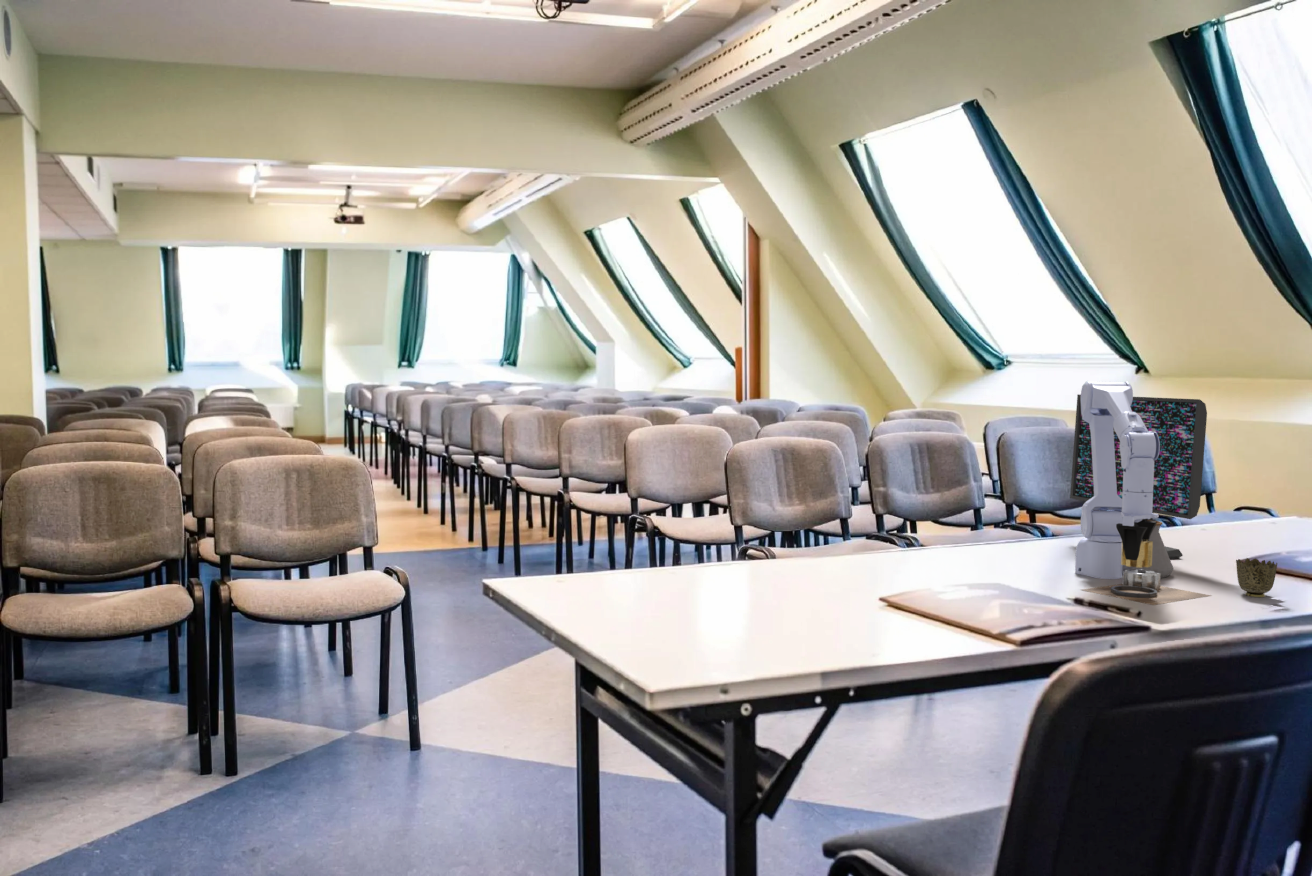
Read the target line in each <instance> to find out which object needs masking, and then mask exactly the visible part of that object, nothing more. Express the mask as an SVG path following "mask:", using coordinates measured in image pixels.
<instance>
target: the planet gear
mask: <svg viewBox="0 0 1312 876" xmlns="http://www.w3.org/2000/svg"><path fill="white" fill-rule="evenodd" d="M1152 547H1153V542H1152V541H1148V540H1144V539H1142V541H1141V546H1140V551H1139V556H1138V559H1137V560H1127V559H1126V558H1125V554H1124V548H1123V543H1122V548H1121V565H1126V566H1129V567H1139V568H1142V567H1151V566H1152Z"/></svg>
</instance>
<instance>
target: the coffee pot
mask: <svg viewBox="0 0 1312 876" xmlns="http://www.w3.org/2000/svg"><path fill="white" fill-rule="evenodd" d="M1099 511H1101V510H1099ZM1147 521H1154V519H1153V520H1147ZM1155 521H1156V526H1155V527H1154V529H1153V531H1152V533H1151V536H1150V539H1149V541H1152V542H1153V547H1152V566H1151V567H1142V568H1139V567H1129V566H1126V565H1122V574H1123V571H1125V570H1138V569H1145V570H1146V571H1154V572H1155V573H1160V574H1161V575H1160V579H1161V578H1163V579H1164V578H1167V577H1169V576H1170V575H1171V574H1172V572H1173V570H1174V567H1173V563H1172V560H1171V559H1170V558H1169V556H1168V553H1167V551H1166V548H1165V543H1164V541H1163V539H1162V536H1161V533H1160V528H1161V526H1162V525H1163V522H1162V521H1160V520H1159V521H1158V520H1155Z"/></svg>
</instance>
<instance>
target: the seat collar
mask: <svg viewBox="0 0 1312 876" xmlns="http://www.w3.org/2000/svg"><path fill="white" fill-rule="evenodd" d="M1118 590H1135V591H1143V592H1148V593H1129V592H1123V591H1118ZM1111 593H1113V594H1115V595H1120V596H1125V597H1134V598H1152V597H1156V596H1157V591H1156V590H1154V589H1151V588H1146V587H1139V586H1113V587H1112V588H1111Z"/></svg>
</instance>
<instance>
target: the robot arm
mask: <svg viewBox="0 0 1312 876" xmlns="http://www.w3.org/2000/svg"><path fill="white" fill-rule="evenodd" d="M1080 392H1081V393H1080V395H1081V414H1082V419H1083V420H1084V421H1086V422H1088V423H1089V425H1090V432H1091V446H1092V464H1093V483H1094V497H1092V498H1091V499H1089V500H1088V501H1085V502H1084V503H1083V505H1082V507H1081V515H1080V531H1081V534H1082V535H1083V538H1081V539H1080V540H1079V541H1078V542H1077V544H1076V548H1075V564H1074V565H1075V566H1074V567H1075V569H1074V573H1075V574H1077V575H1083V576H1087V577H1091V578H1094V579H1095V578H1096V579H1103V580H1119V579H1123V573H1122V565H1121V548H1122V543H1123V548H1124V554H1125V558H1126V559H1127V560H1137V559H1138V556H1139V551H1140V546H1141V541H1142V539H1144V540H1148V541H1149V539H1150V536H1151V533H1152V531H1153V529H1154V527H1155V526H1156V521H1157V520H1153V521H1147V519H1150V518H1153V519H1159V515H1160V514H1157V513H1152V507H1153V482H1154V460H1157V458H1158V456H1159V451H1160V442H1159V437H1158V435H1157V433H1156V432H1152V431H1148V430H1147V428H1146V426H1145V424H1144V423H1143V421H1142V419H1141V417H1140V416H1139V415H1138V414H1137V413H1136V412H1132V410H1131V407H1130V406H1131V404H1132V400H1133V397H1134V393H1133V392H1134V391H1133V387H1132V385H1131V383H1129V381H1122V382H1121V381H1120V382H1119V381H1118V382H1117V381H1116V382H1115V381H1114V382H1113V381H1112V382H1111V381H1109V382H1108V381H1105V382H1104V381H1089V380H1087V381H1085V382H1084V383H1083V385H1082V386H1081V389H1080ZM1113 428H1114V430H1115V432H1116V434H1117V436H1118V438H1119V440H1120V454H1121V465H1122V468H1123V495H1122V499H1121V498H1120V497H1119V496H1118V495H1117V484H1116V467H1115V450H1114V433H1113ZM1099 510H1100V511H1099Z"/></svg>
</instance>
